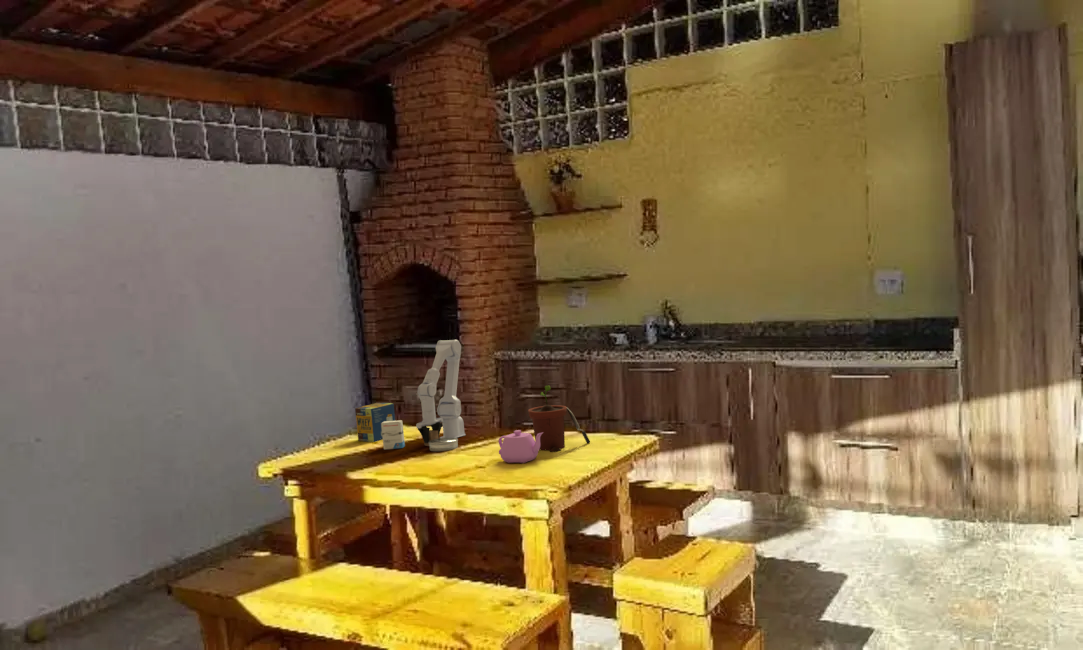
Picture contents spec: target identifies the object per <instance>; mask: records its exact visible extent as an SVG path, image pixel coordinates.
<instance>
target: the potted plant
mask: <svg viewBox="0 0 1083 650" xmlns="http://www.w3.org/2000/svg"><path fill="white" fill-rule="evenodd" d="M544 389H545V391H544V392H545V393H544V392H543V391H541V392H540V394H539V396H542V397H545V398H544V399H545V404H544V405H543V406H541V405H540V406H537V407H531V408H529V409H528V417H529V418H530V419H531V420H532V426H533V427H532V429H533V432H534V433H533V434H534V440H535V441H536V436H537V434H539V433H542V432H544V433H543V434H542V435H541V436H540V449H539V451H549V452H550V453H556V452H561V451H562V449H564V448H565V438H566V437H565V416H566V415H567V412H568V414H569V416H570V418H571V420H572V422H573V425H574V426H575V428H576V430H577V431H582V432H581V434H582V436H583V438H584V440H585V442H586V444H590V443H591V441H590V438H589V436H588V434H587V432H586V431H585V430H584V429H581V428H580V427H581V426H580V425H579V422H578V420H577V419H576V417H575V415H574V413H573V412H572V411H571V410H570V409H569V407H567V406H566V405H561V404H560V405H554V404H553V405H552V404H548V399H547V392H549V391H551V389H552V388H551V386H550V385H545V386H544Z"/></svg>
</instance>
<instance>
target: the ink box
mask: <svg viewBox="0 0 1083 650" xmlns="http://www.w3.org/2000/svg"><path fill="white" fill-rule="evenodd" d="M381 427H382V437H383V440H382V444H383V445H382V446H383V450H394V449H395V450H396V449H403V448H404V447H406V443H405V434H404V425H403V420H401V419H400V420H395V421H384V422H382V423H381Z"/></svg>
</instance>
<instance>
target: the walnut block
mask: <svg viewBox="0 0 1083 650" xmlns="http://www.w3.org/2000/svg"><path fill="white" fill-rule="evenodd" d="M439 438H440V436H439V437H438V430H432V429H429V441H431V440H434V439H439ZM423 443H424V442H423ZM423 445H424V446H427V447H429V443H424V444H423Z"/></svg>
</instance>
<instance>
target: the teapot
mask: <svg viewBox="0 0 1083 650" xmlns="http://www.w3.org/2000/svg"><path fill="white" fill-rule="evenodd" d="M543 433H544V432H542V433H539V434H537V436H536V441H535V437H533V435H532V434H531V433H528V432H522V430H521V429H518V430H517V429H516V430H513V433H510V434H507V435H502V436H500V437H498V445H499V447H500V449H499V450H498V454H499V455H500V458H501V460H502V461H504V462H505V463H508V464H513V463H520V464H526V463H527V462H530V461H533V460H535V459H536V458H537V456H538V455H539V451H540V450H539V449H540V436H541V435H542V434H543Z"/></svg>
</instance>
